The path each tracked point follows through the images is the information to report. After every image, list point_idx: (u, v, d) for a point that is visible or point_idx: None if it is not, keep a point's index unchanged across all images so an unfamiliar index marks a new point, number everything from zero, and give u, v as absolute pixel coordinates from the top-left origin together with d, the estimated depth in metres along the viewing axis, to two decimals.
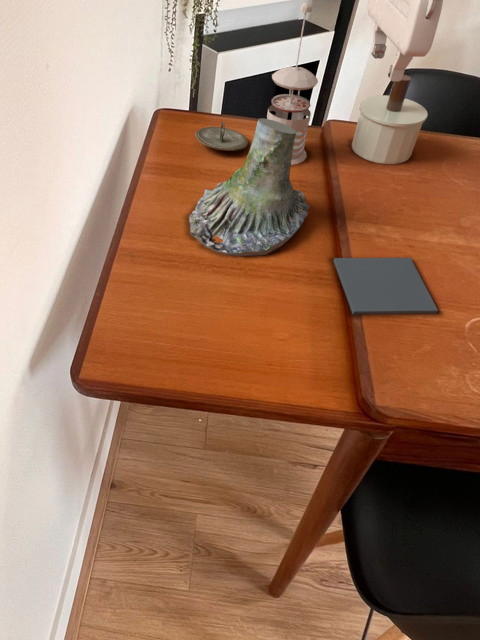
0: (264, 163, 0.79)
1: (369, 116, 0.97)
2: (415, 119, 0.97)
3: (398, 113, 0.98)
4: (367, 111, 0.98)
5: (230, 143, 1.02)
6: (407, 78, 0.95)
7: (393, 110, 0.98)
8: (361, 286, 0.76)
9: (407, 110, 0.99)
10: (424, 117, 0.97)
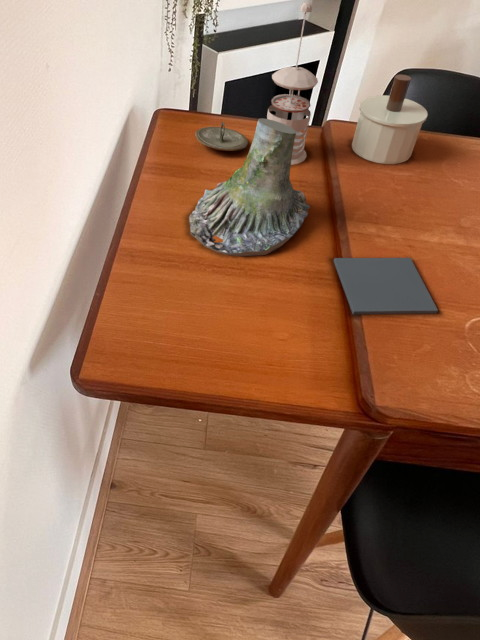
0: (264, 163, 0.79)
1: (369, 116, 0.97)
2: (415, 119, 0.97)
3: (398, 113, 0.98)
4: (367, 111, 0.98)
5: (230, 143, 1.02)
6: (407, 78, 0.95)
7: (393, 110, 0.98)
8: (361, 286, 0.76)
9: (407, 110, 0.99)
10: (424, 117, 0.97)
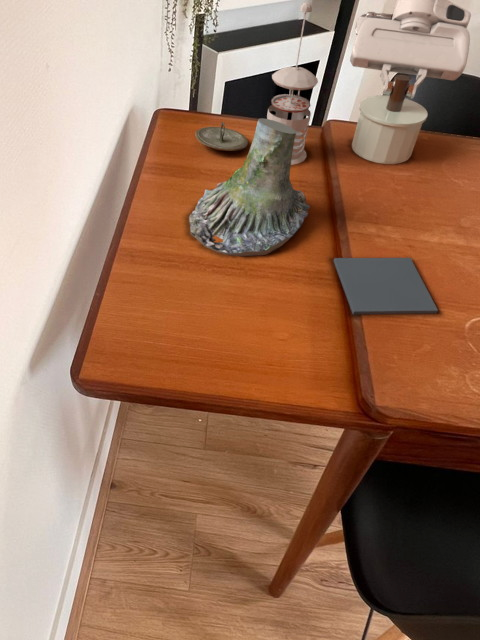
0: (264, 163, 0.79)
1: (369, 116, 0.97)
2: (415, 119, 0.97)
3: (398, 113, 0.98)
4: (367, 111, 0.98)
5: (230, 143, 1.02)
6: (407, 78, 0.95)
7: (393, 110, 0.98)
8: (361, 286, 0.76)
9: (407, 110, 0.99)
10: (424, 117, 0.97)
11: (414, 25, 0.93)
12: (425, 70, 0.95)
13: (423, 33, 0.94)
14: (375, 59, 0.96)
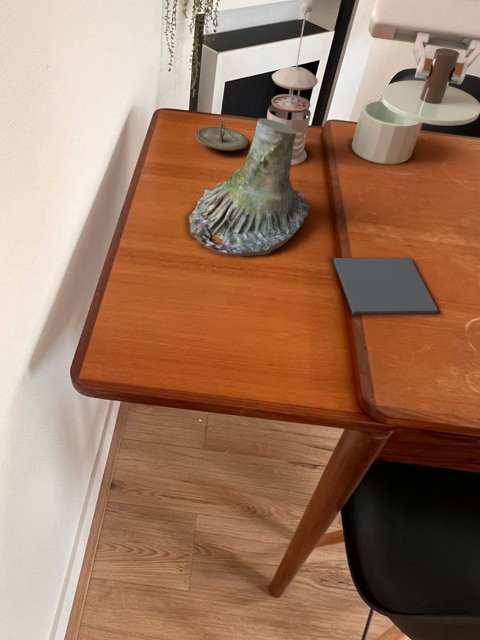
0: (264, 163, 0.79)
1: (396, 110, 0.66)
2: (464, 114, 0.66)
3: (438, 105, 0.67)
4: (393, 103, 0.67)
5: (230, 143, 1.02)
6: (454, 54, 0.64)
7: (431, 101, 0.67)
8: (361, 286, 0.76)
9: (451, 101, 0.68)
10: (477, 111, 0.66)
11: None
12: None
13: None
14: (406, 25, 0.65)
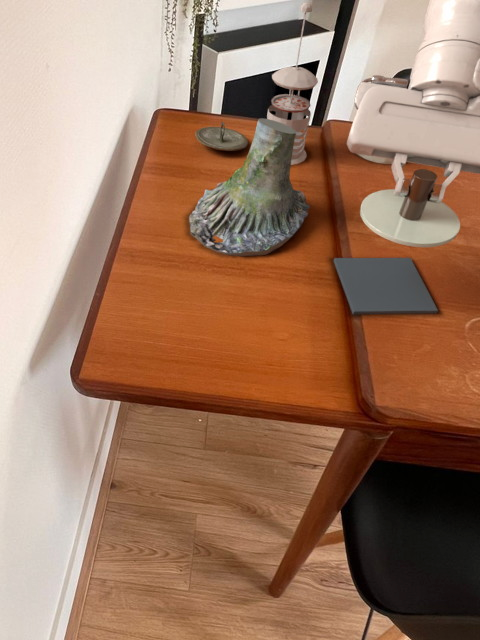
0: (264, 163, 0.79)
1: (375, 229, 0.66)
2: (443, 234, 0.65)
3: (417, 223, 0.67)
4: (372, 220, 0.67)
5: (230, 143, 1.02)
6: (432, 177, 0.64)
7: (410, 218, 0.67)
8: (361, 286, 0.76)
9: (430, 217, 0.68)
10: (456, 230, 0.66)
11: (443, 100, 0.62)
12: (458, 164, 0.64)
13: (456, 110, 0.63)
14: (384, 147, 0.64)
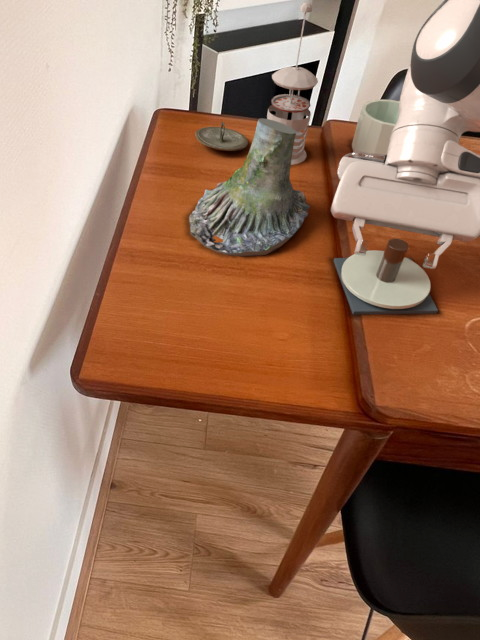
0: (264, 163, 0.79)
1: (353, 291, 0.73)
2: (414, 296, 0.73)
3: (392, 285, 0.74)
4: (351, 283, 0.74)
5: (230, 143, 1.02)
6: (404, 246, 0.71)
7: (385, 281, 0.75)
8: None
9: (404, 279, 0.76)
10: (426, 292, 0.74)
11: (415, 176, 0.69)
12: (450, 236, 0.71)
13: (427, 185, 0.70)
14: (363, 216, 0.72)
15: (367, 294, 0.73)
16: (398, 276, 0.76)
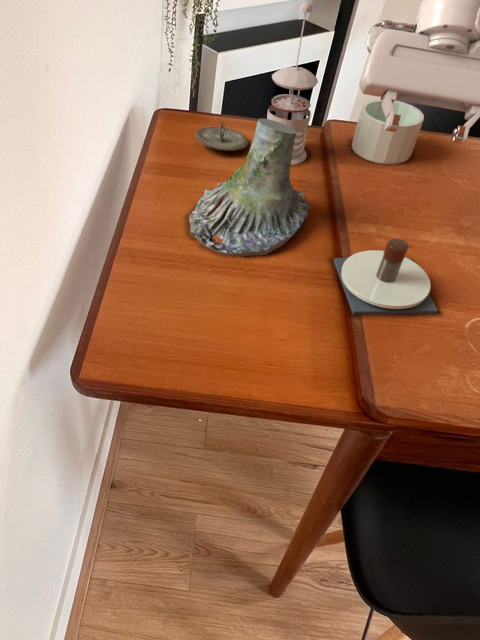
0: (264, 163, 0.79)
1: (353, 291, 0.73)
2: (414, 296, 0.73)
3: (392, 285, 0.74)
4: (351, 283, 0.74)
5: (230, 143, 1.02)
6: (404, 246, 0.71)
7: (385, 281, 0.75)
8: None
9: (404, 279, 0.76)
10: (426, 292, 0.74)
11: (449, 43, 0.69)
12: None
13: (459, 54, 0.70)
14: (396, 87, 0.71)
15: (367, 294, 0.73)
16: (398, 276, 0.76)
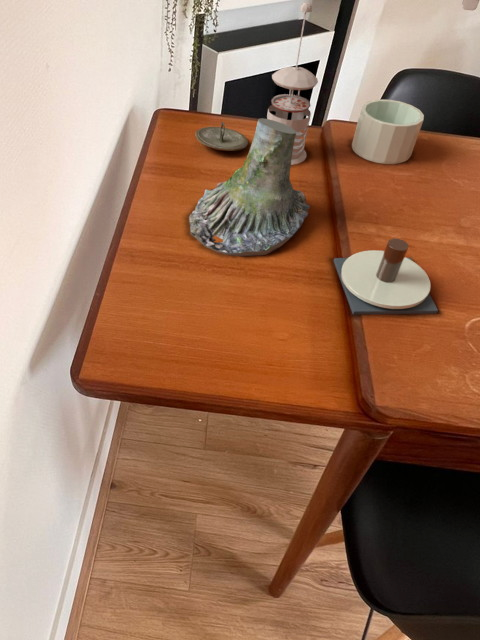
0: (264, 163, 0.79)
1: (353, 291, 0.73)
2: (414, 296, 0.73)
3: (392, 285, 0.74)
4: (351, 283, 0.74)
5: (230, 143, 1.02)
6: (404, 246, 0.71)
7: (385, 281, 0.75)
8: None
9: (404, 279, 0.76)
10: (426, 292, 0.74)
11: None
12: None
13: None
14: None
15: (367, 294, 0.73)
16: (398, 276, 0.76)
